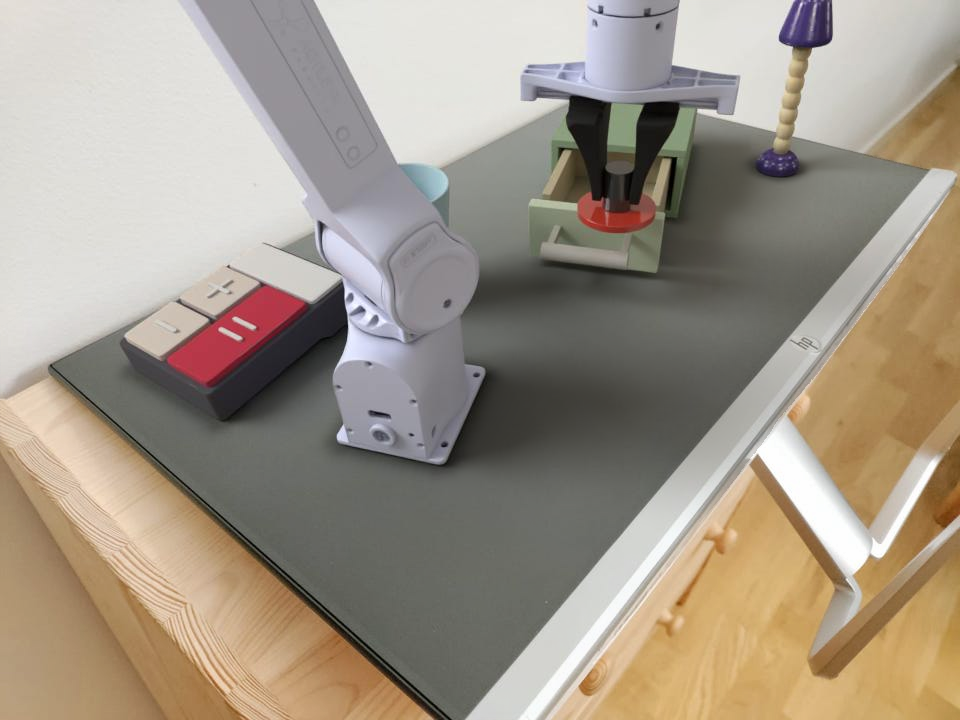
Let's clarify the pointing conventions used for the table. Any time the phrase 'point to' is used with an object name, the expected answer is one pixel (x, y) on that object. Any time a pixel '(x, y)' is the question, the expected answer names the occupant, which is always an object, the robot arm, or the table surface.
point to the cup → (430, 185)
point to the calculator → (238, 328)
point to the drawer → (574, 242)
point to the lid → (616, 203)
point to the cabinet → (625, 142)
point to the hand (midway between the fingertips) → (617, 196)
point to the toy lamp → (796, 77)
